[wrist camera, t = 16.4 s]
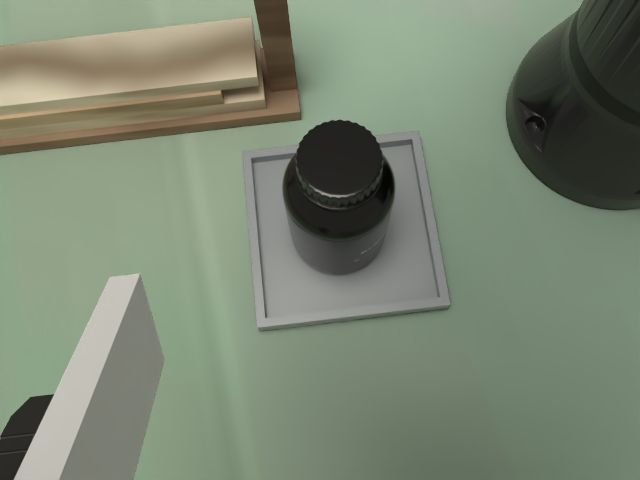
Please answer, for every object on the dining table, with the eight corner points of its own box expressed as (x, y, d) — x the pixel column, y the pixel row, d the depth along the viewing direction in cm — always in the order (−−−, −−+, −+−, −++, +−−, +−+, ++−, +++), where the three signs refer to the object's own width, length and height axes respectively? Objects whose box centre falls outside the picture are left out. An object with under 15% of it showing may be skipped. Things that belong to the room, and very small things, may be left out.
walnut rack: (-41, 92, 49) (-234, -84, 33) (293, 53, 50) (270, -140, 33) (-45, 159, 48) (-253, 11, 31) (300, 119, 48) (281, -50, 31)
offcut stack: (-5, 80, 48) (-34, 49, 44) (260, 49, 48) (254, 16, 45) (-8, 140, 47) (-39, 114, 43) (266, 108, 47) (260, 79, 43)
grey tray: (245, 160, 47) (242, 151, 46) (416, 140, 47) (418, 130, 46) (259, 331, 43) (257, 327, 42) (446, 308, 43) (450, 304, 42)
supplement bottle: (383, 279, 43) (399, 223, 32) (287, 272, 44) (268, 215, 32) (388, 189, 45) (404, 106, 34) (295, 183, 46) (280, 99, 34)
